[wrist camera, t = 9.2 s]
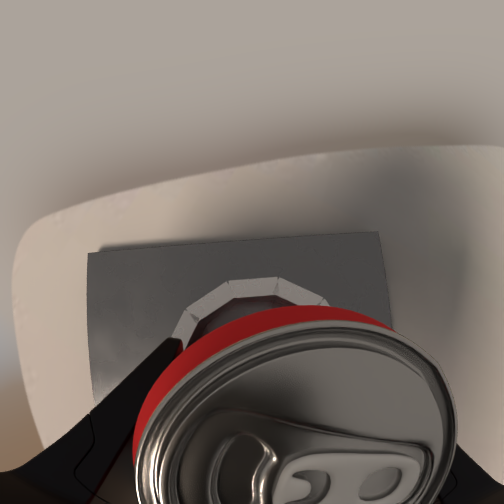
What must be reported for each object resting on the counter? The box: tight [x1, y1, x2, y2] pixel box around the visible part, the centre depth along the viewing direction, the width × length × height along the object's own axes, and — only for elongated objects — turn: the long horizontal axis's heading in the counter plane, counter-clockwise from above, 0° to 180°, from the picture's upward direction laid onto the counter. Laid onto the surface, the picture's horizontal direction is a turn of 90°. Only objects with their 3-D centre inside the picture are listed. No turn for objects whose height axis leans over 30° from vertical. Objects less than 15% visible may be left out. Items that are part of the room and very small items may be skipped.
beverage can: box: [132, 305, 458, 504], centre depth 9 cm, size 5×5×12 cm
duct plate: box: [87, 231, 392, 406], centre depth 14 cm, size 18×18×4 cm
